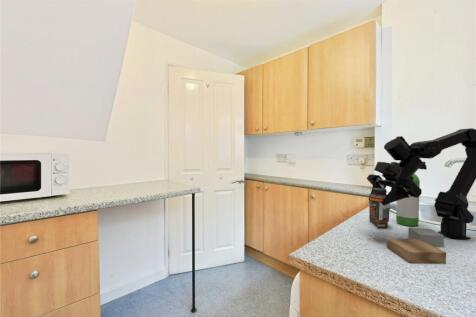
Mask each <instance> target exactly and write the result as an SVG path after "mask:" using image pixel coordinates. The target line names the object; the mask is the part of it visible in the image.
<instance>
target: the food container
mask: <svg viewBox="0 0 476 317" xmlns="http://www.w3.org/2000/svg"><path fill="white" fill-rule="evenodd" d="M391 204H392V203H390V207H389V210H391V209H392V205H391ZM368 205H369V209H370V201H369V200H368ZM368 220H369V223H371V224H372V226H374V227H376V229H379V230H380V229H387V228H388V226H389V225H388V224H389V222H388V223H377V222H373V221H371V220H370V219H368Z"/></svg>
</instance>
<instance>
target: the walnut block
mask: <svg viewBox="0 0 476 317" xmlns="http://www.w3.org/2000/svg"><path fill="white" fill-rule="evenodd" d="M386 249H388V250H389V251H391V252H392V253H394V254H395V255H396V256H398V257H400V258H401V259H403V260H405V261H406V262H408V263H409V264H447V252H446V251H444V250H441V249H440V248H439V247H434V246H432V245H430V244H428V243H426V242H424V241H422V240H420V239H409V238H387V239H386Z"/></svg>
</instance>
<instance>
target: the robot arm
mask: <svg viewBox="0 0 476 317" xmlns="http://www.w3.org/2000/svg"><path fill="white" fill-rule="evenodd" d="M459 144H461V145H462V146H463V147H464V148H465V149H464V150H465V155H466V158H465V160H464V161H463V163H462V166H461V168H460V169H459V171H458V173H457V175H456V176H455V178H454V180H453V182H452V184H451V186H450V188H448V190H447V191H439V193H438V194H437V197H436V198H435V199H434V201H435V202H434V205H433V206H434V209H435V213H436V216H437V217H439V218H441V222H440V231H437V232H438V233H440V234H441V235H443V236H444V237H448V238H449V239H452V240H453V239H454V240H471V237H470V236H467V224H471V223H473V222H474V218H475V216H474V215H473V214H472V212H471V211H470V210H469V205H470V204H469V201H468V198H467V197H468V194H469V193H470V190H471V189H472V186H473V185H474V183H475V181H476V128H474V127H473V128H472V127H471V128H469V127H468V128H460V129H458V130H456V131H453V132H451V133H448V134H445V135H442V136H440V137H437V138H434V139H431V140H422V141H416V142H412V143H411V144H410V145H409V143H408V141H406V139H405V138H404V137H403V136H402V135H401V136H396V137H395V138H393V139H390V140H389V141H387V142H386V143H385V144H384V145H383V149H384V150H385V152H386V153H387V154H388V155H389V156H390V157H391V158H392V159H393V160H394V161H391V162H387V161H386V162H385V161H377V162H376V165H375V167H374V169H373V170H374V171H375V172H378V173H381V174H382V175H380V174H374V173H373V174H372V173H371V174H369V175H368V176H367V177H366V179H367V181H368V182H369V183H370V184H371V185H372V188H371V190H370V194H369V197H368V202H369V201H370V195H371V194H373V188H384V189H386V188H387V187H389V188H390V190H389V192H388V193H387V196H386V197H385V198H384V200H383V201H382V205H387V204H389V203H390V204H392V203H394V202H397V201H398V200H401V199H404V198H409V197H410V196H411V197H415V198H418V197H419V198H420V196H421V195H422V194H423V193H422V191H423V190H422V189H421V187H419V186H418V185H417V184H416V183H415V182H414V181H413V179H414V178H413V177H412V176H413V174H416V173H417V171H418V170H427V165H426V163H427V162H426V161H423V160H422V159H433V158H436V157H437V156H438V155H440V154H441V153H442V151H443V150H446V149H448V148H451V147H454V146H457V145H459ZM396 161H399V162H396ZM381 176H382V177H381ZM383 178H384V179H383ZM409 195H410V196H409Z"/></svg>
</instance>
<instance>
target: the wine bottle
mask: <svg viewBox="0 0 476 317" xmlns="http://www.w3.org/2000/svg"><path fill="white" fill-rule="evenodd" d="M412 177H413V178H414V179H413V181H414V182H415V183H416V184H417V185H418V186H419V187H420V184H421V181H420V178H419V176H418V175H417V174H416V173H414V174H413V176H412ZM420 188H421V187H420ZM409 196H410V195H409ZM395 206H396V207H395V208H396V209H395V210H396V212H395V215H396V216H395V222H396V223H398V224H399V225H402V226H407V227H416V226H418V225H419V219H420V196H419V197H418V198H415V197H411V196H410V197H409V198H404V199H401V200H398V201H396V205H395Z"/></svg>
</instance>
